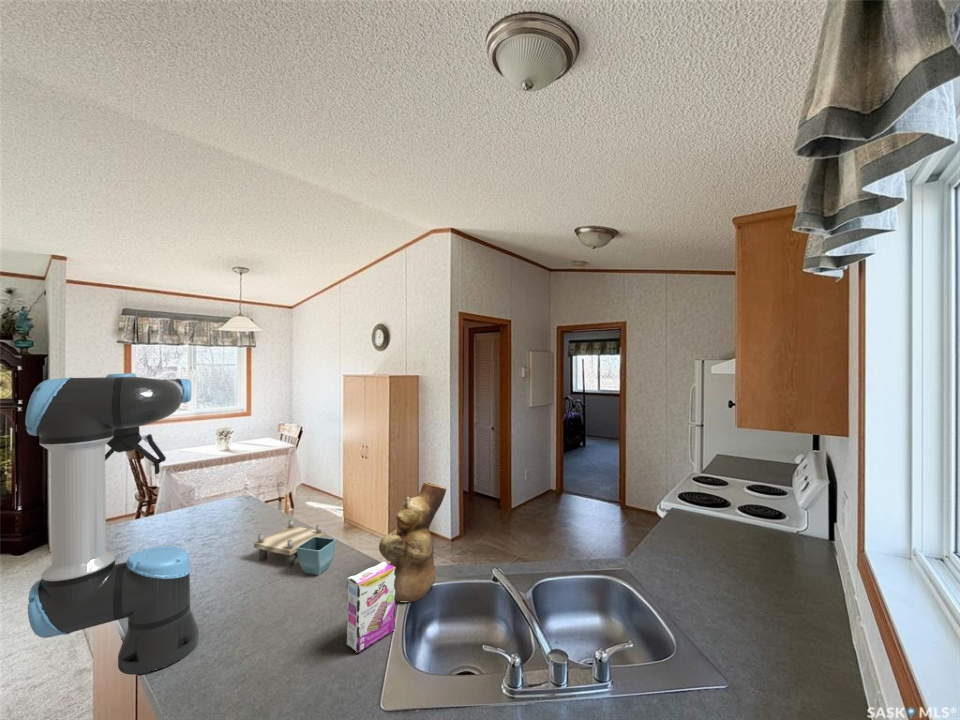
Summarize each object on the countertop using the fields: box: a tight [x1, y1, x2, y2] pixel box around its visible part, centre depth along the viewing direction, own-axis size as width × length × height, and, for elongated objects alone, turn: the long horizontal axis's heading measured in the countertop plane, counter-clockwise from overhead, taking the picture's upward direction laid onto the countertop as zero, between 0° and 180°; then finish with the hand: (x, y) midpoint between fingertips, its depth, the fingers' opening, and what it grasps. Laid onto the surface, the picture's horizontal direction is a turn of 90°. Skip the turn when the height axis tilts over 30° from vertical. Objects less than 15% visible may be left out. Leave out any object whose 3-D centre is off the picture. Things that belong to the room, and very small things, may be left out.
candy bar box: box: [346, 561, 396, 653], centre depth 102 cm, size 11×5×16 cm, turn 141°
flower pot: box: [296, 537, 337, 576], centre depth 135 cm, size 9×9×9 cm
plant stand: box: [253, 519, 326, 568], centre depth 146 cm, size 16×16×8 cm
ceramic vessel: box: [378, 481, 447, 604], centre depth 126 cm, size 16×22×30 cm
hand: (126, 488), depth 132 cm, fingers open, 13 cm apart
